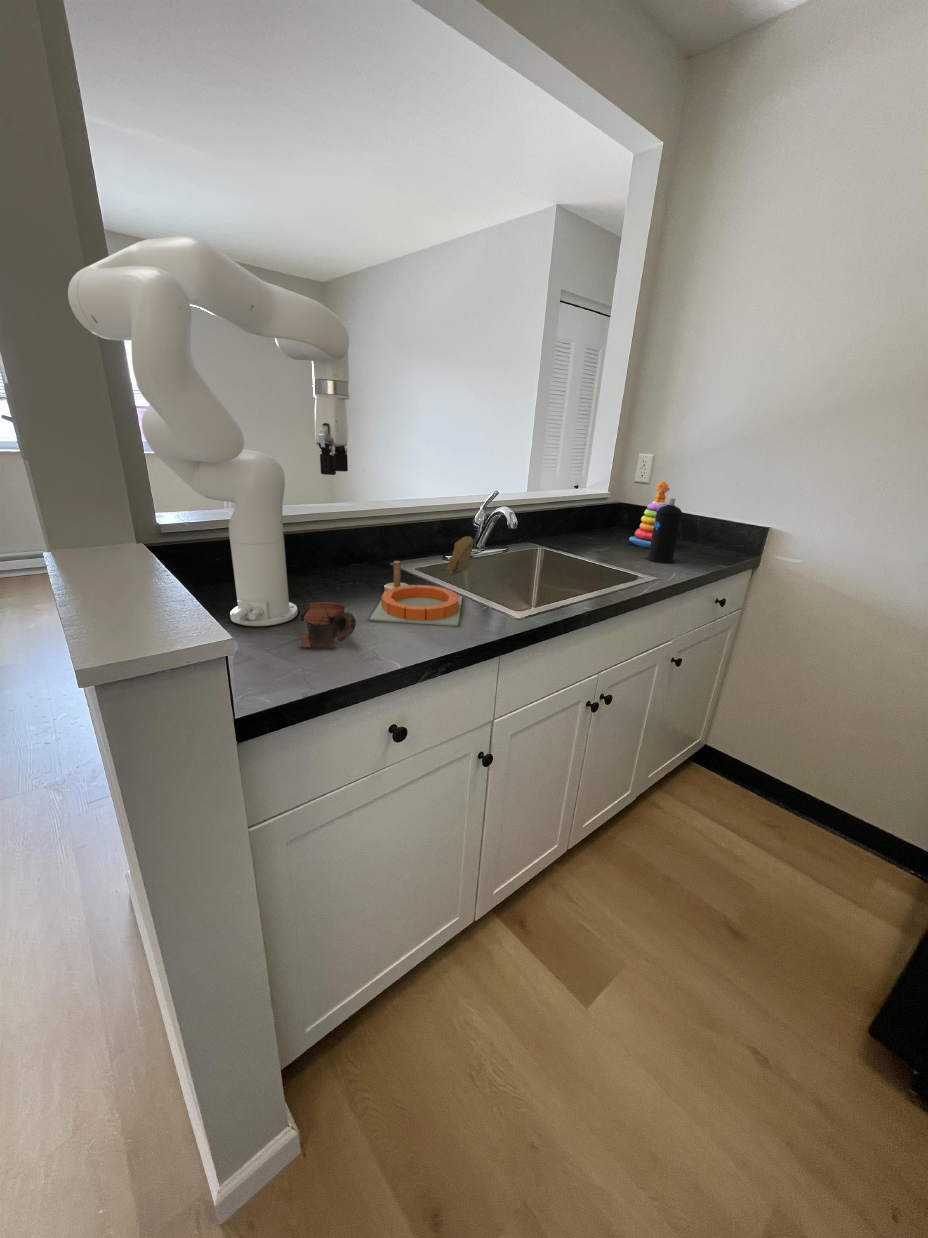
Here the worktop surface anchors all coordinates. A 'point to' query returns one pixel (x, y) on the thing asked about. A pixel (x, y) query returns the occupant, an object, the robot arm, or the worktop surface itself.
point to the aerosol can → (665, 533)
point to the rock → (460, 556)
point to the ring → (419, 611)
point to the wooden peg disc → (396, 577)
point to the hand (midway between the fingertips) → (334, 472)
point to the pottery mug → (325, 624)
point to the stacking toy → (650, 518)
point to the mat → (418, 601)
